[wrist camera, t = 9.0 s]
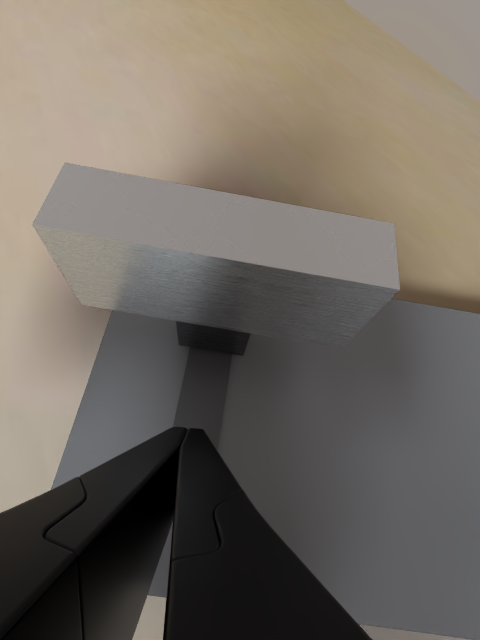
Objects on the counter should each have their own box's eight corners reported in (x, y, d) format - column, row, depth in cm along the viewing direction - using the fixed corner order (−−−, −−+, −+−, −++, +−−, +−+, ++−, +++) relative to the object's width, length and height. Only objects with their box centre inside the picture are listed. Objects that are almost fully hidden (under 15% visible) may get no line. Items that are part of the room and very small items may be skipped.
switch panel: (718, 654, 16) (832, 690, 13) (53, 561, 15) (18, 579, 12) (610, 364, 22) (671, 345, 19) (140, 283, 21) (131, 250, 18)
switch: (317, 372, 16) (400, 289, 10) (100, 336, 16) (32, 224, 9) (318, 326, 17) (394, 223, 11) (116, 291, 17) (64, 162, 10)
